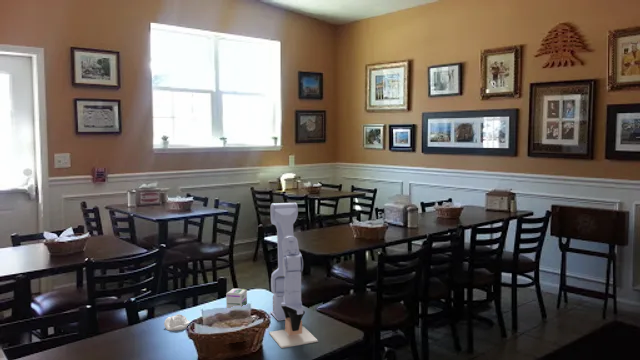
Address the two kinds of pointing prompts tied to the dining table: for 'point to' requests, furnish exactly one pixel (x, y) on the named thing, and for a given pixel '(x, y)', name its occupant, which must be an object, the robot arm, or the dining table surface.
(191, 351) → the dining table surface
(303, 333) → the serving plate
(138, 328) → the dining table surface
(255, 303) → the dining table surface
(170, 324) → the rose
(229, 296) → the syrup box
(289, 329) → the terracotta block
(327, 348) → the dining table surface
